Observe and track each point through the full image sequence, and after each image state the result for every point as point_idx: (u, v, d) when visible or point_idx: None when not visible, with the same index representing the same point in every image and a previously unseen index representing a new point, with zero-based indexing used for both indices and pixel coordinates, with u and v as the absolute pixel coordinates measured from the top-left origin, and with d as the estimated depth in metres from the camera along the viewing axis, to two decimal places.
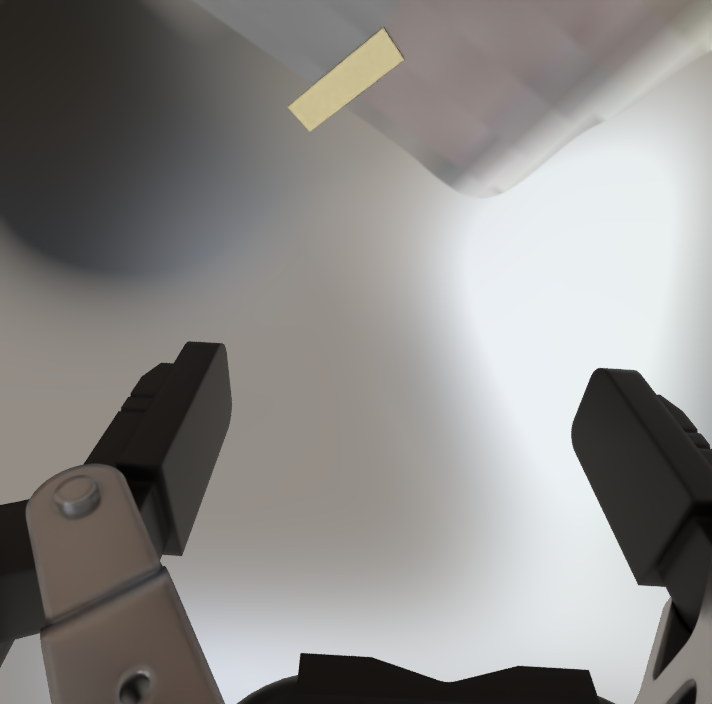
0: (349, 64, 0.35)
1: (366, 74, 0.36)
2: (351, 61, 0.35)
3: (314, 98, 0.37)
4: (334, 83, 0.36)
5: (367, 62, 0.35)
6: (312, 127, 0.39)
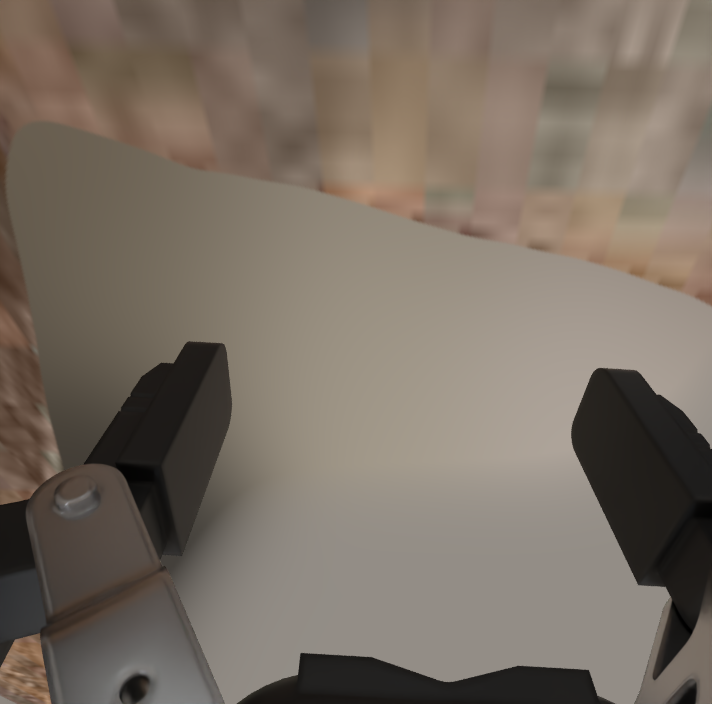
0: None
1: None
2: None
3: None
4: None
5: None
6: None
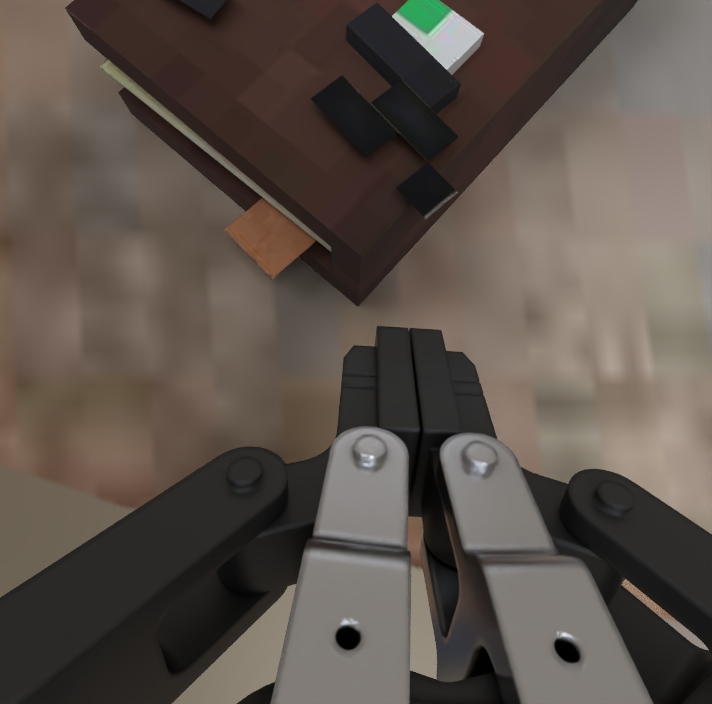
0: None
1: None
2: None
3: None
4: None
5: None
6: None
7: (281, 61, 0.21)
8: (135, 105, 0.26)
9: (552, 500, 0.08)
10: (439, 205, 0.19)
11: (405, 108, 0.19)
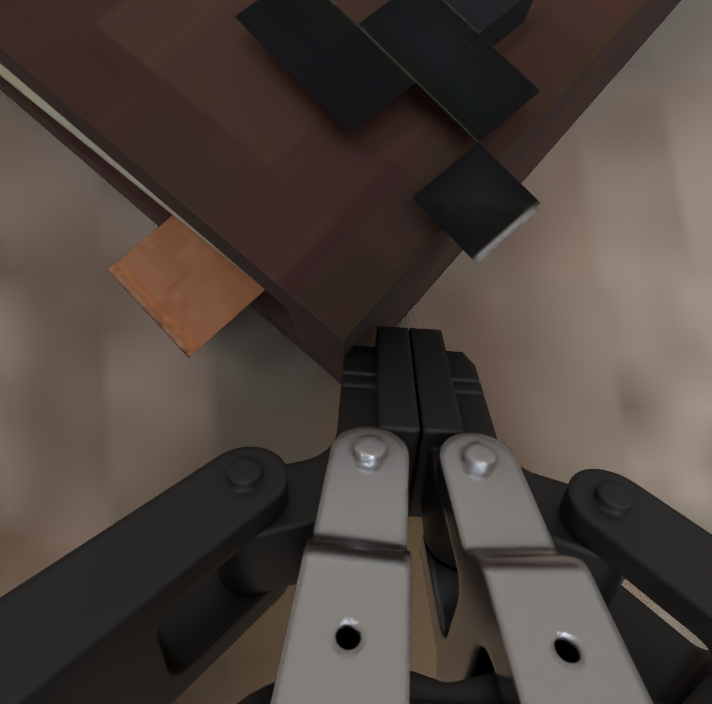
0: None
1: None
2: None
3: None
4: None
5: None
6: None
7: None
8: None
9: (552, 500, 0.08)
10: (505, 234, 0.09)
11: (429, 34, 0.10)
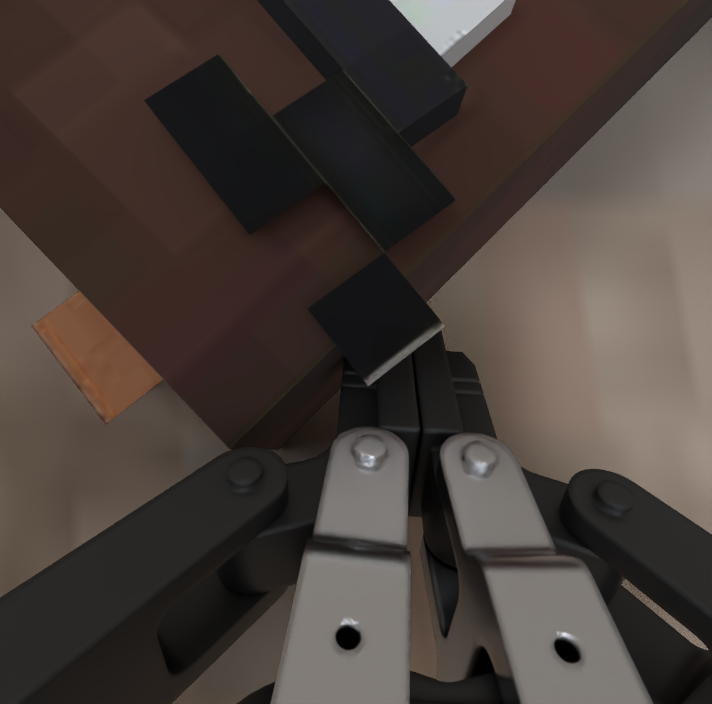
0: None
1: None
2: None
3: None
4: None
5: None
6: None
7: (114, 22, 0.10)
8: None
9: (552, 500, 0.08)
10: (401, 355, 0.08)
11: (345, 131, 0.09)
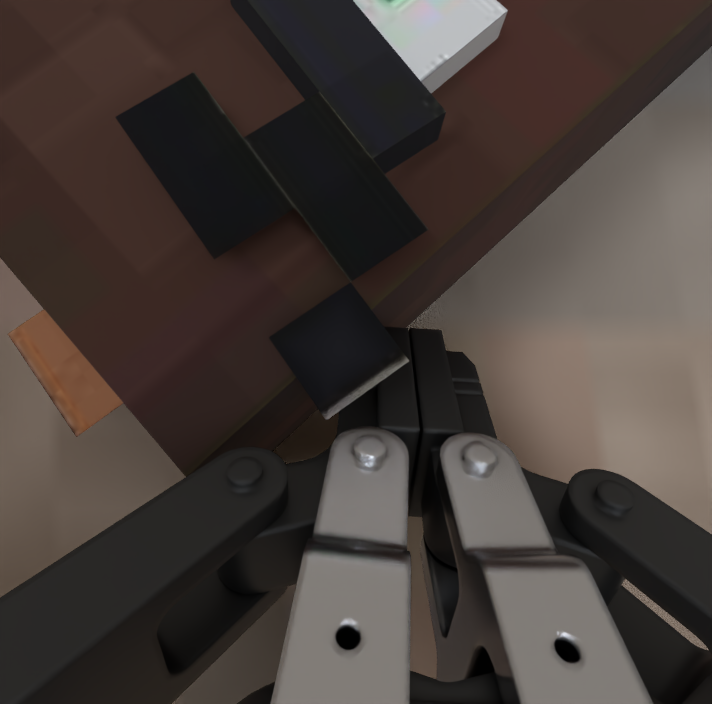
0: None
1: None
2: None
3: None
4: None
5: None
6: None
7: (94, 35, 0.10)
8: None
9: (552, 500, 0.08)
10: (362, 389, 0.08)
11: (318, 155, 0.09)
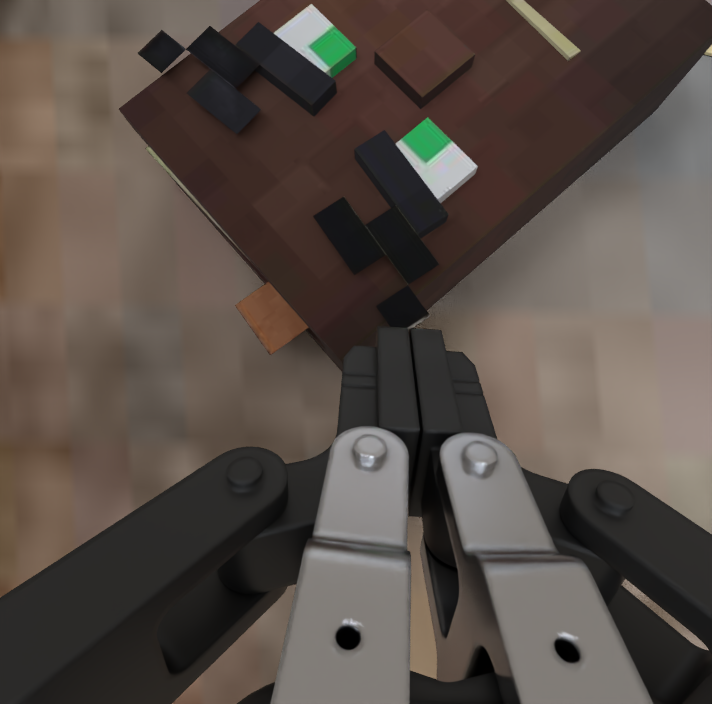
0: None
1: None
2: None
3: None
4: None
5: None
6: None
7: (295, 173, 0.23)
8: None
9: (552, 500, 0.08)
10: (411, 326, 0.21)
11: (395, 233, 0.22)
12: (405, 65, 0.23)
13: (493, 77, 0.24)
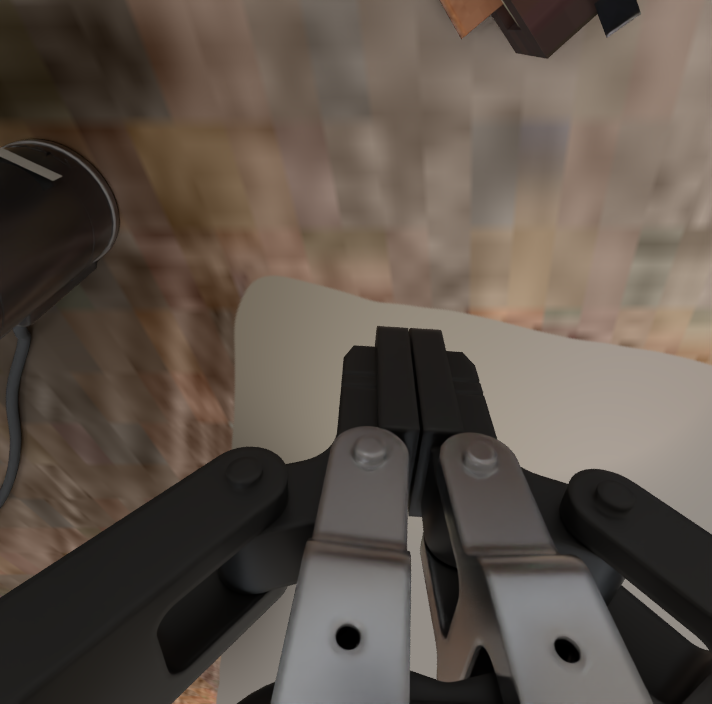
0: None
1: None
2: None
3: None
4: None
5: None
6: None
7: None
8: None
9: (552, 500, 0.08)
10: (621, 25, 0.24)
11: None
12: None
13: None
